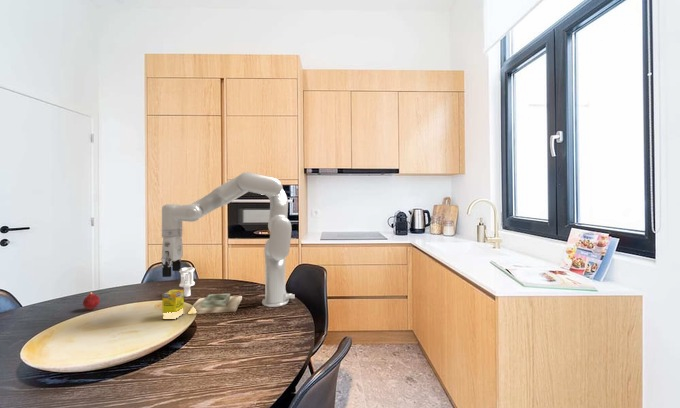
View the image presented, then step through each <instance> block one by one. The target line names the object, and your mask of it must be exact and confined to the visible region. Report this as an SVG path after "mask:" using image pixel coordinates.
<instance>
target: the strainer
mask: <svg viewBox="0 0 680 408" xmlns="http://www.w3.org/2000/svg"><path fill="white" fill-rule="evenodd" d="M178 272H179V274H180V283H179V285H178V286H179V287H180V288H183V290H184V297H186V298H187V297H190V296H191V295H192V294H191V287H192V286H195V284H196V282H195V281H194V272H195V267H182V268H181V270H180V271H178Z"/></svg>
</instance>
